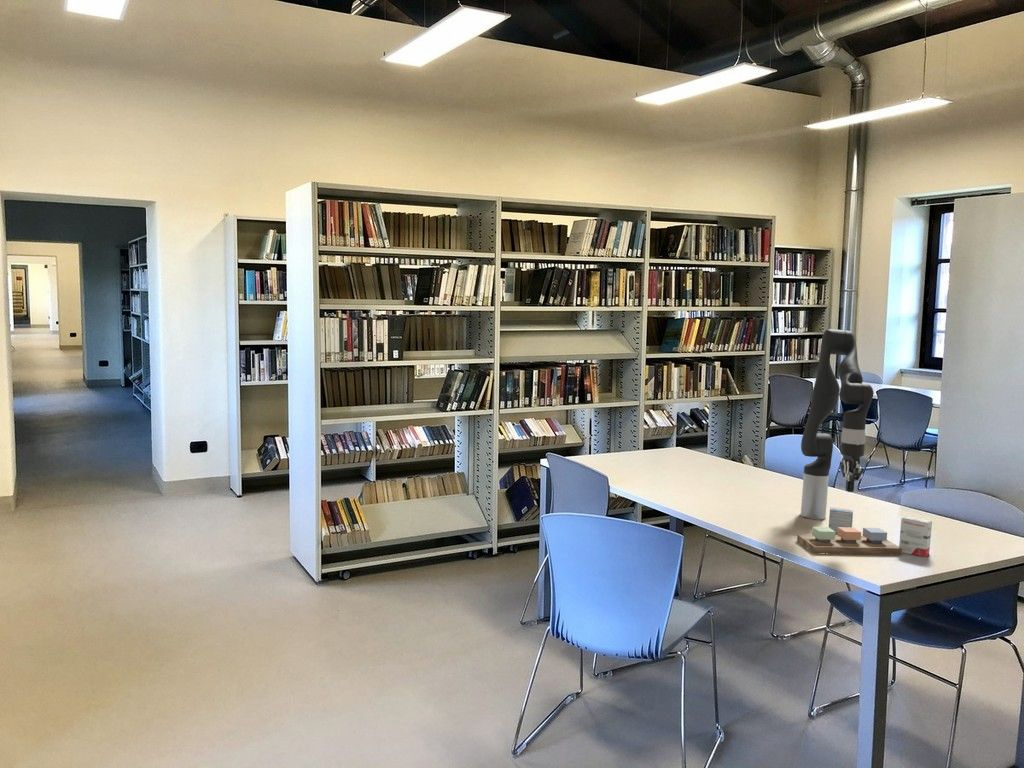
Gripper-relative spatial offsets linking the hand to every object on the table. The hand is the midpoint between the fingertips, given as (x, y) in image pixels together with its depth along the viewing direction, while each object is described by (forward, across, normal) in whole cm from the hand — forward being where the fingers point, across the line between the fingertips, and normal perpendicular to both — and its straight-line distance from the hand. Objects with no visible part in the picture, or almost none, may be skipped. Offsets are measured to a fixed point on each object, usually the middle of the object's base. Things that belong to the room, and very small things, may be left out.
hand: (849, 491), depth 271 cm
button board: (+19, +2, 0) cm, 19 cm away
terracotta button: (+16, +2, 0) cm, 16 cm away
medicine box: (+19, -17, +6) cm, 27 cm away
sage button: (+16, +2, -9) cm, 18 cm away
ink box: (+20, +6, +21) cm, 29 cm away
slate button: (+16, +2, +9) cm, 18 cm away
